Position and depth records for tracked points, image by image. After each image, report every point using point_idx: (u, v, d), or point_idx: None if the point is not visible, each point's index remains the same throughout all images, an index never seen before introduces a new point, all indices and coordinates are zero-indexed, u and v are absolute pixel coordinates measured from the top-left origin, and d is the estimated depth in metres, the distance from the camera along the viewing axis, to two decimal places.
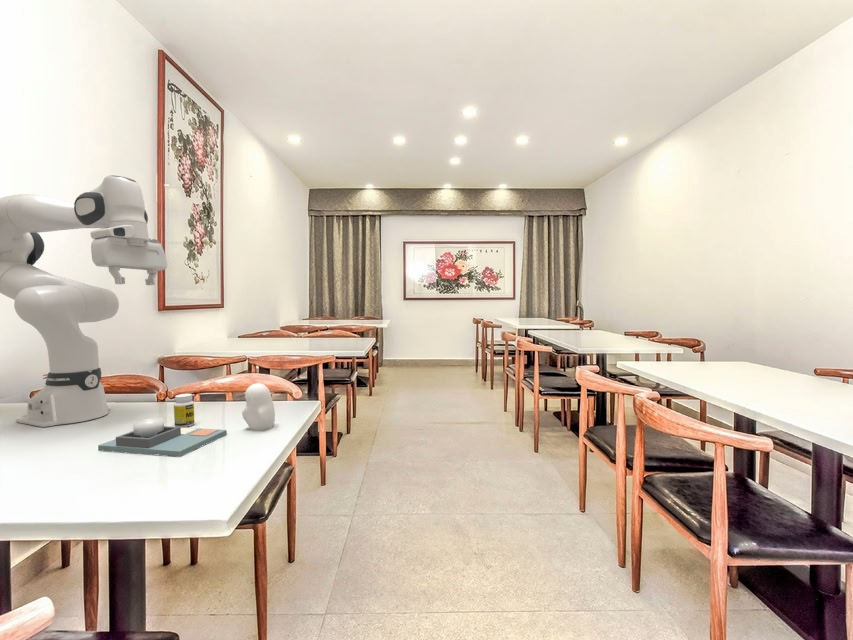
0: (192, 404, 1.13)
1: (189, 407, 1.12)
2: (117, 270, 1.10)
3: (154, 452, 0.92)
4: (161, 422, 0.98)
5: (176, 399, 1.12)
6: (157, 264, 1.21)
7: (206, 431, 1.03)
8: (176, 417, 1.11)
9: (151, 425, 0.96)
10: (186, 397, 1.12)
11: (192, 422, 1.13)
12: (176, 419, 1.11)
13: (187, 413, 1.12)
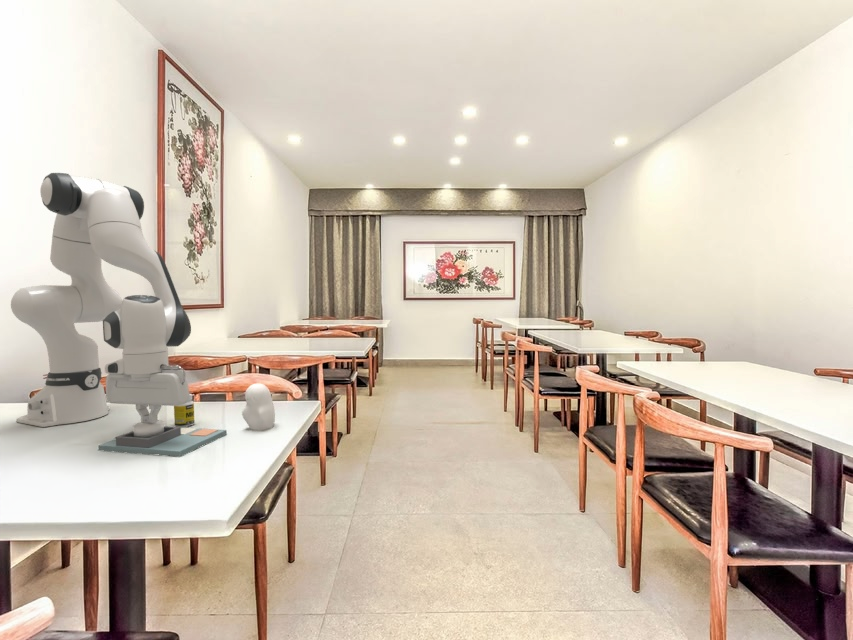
0: (192, 404, 1.13)
1: (189, 407, 1.12)
2: (138, 408, 0.97)
3: (154, 452, 0.92)
4: (161, 425, 0.98)
5: None
6: (164, 400, 0.94)
7: (206, 431, 1.03)
8: (176, 417, 1.11)
9: (151, 428, 0.96)
10: None
11: (192, 422, 1.13)
12: (176, 419, 1.11)
13: (187, 413, 1.12)
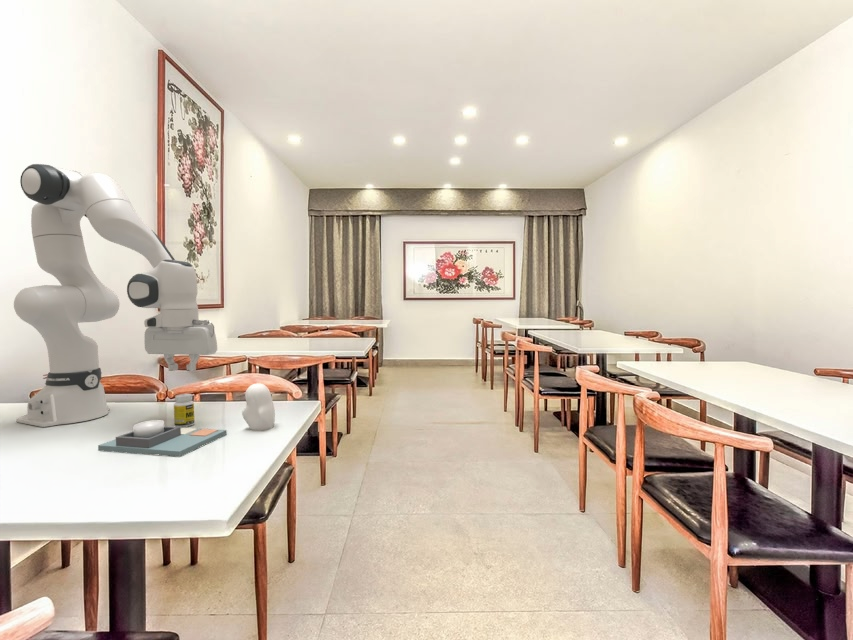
0: (192, 404, 1.13)
1: (189, 407, 1.12)
2: (165, 358, 1.12)
3: (154, 452, 0.92)
4: (161, 425, 0.98)
5: (176, 399, 1.12)
6: (196, 349, 1.09)
7: (206, 431, 1.03)
8: (176, 417, 1.11)
9: (151, 428, 0.96)
10: (186, 397, 1.12)
11: (192, 422, 1.13)
12: (176, 419, 1.11)
13: (187, 413, 1.12)
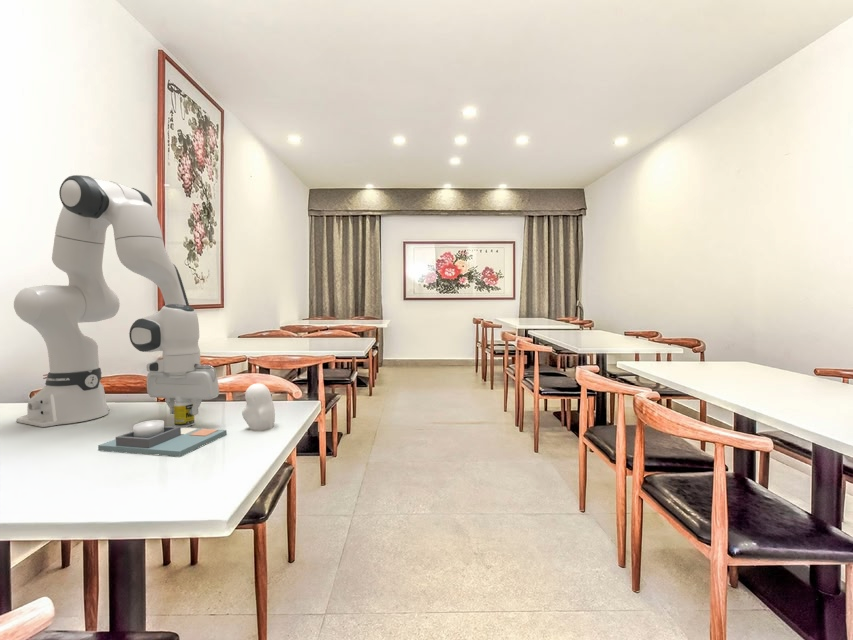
0: (192, 404, 1.13)
1: (189, 407, 1.12)
2: (167, 401, 1.13)
3: (154, 452, 0.92)
4: (161, 425, 0.98)
5: (176, 399, 1.12)
6: (198, 394, 1.10)
7: (206, 431, 1.03)
8: (176, 417, 1.11)
9: (151, 428, 0.96)
10: None
11: (192, 422, 1.13)
12: (176, 419, 1.11)
13: (187, 413, 1.12)
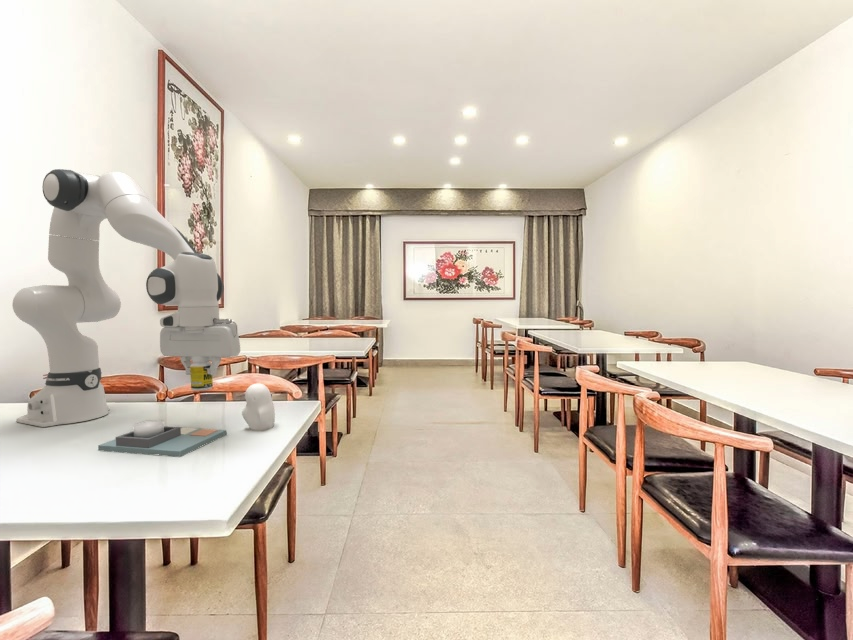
0: (210, 365, 1.02)
1: None
2: (182, 361, 1.02)
3: (154, 452, 0.92)
4: (161, 425, 0.98)
5: (193, 359, 1.00)
6: (217, 351, 0.99)
7: (206, 431, 1.03)
8: (193, 379, 1.00)
9: (151, 428, 0.96)
10: (204, 357, 1.01)
11: (210, 385, 1.02)
12: (193, 381, 1.00)
13: (205, 375, 1.01)
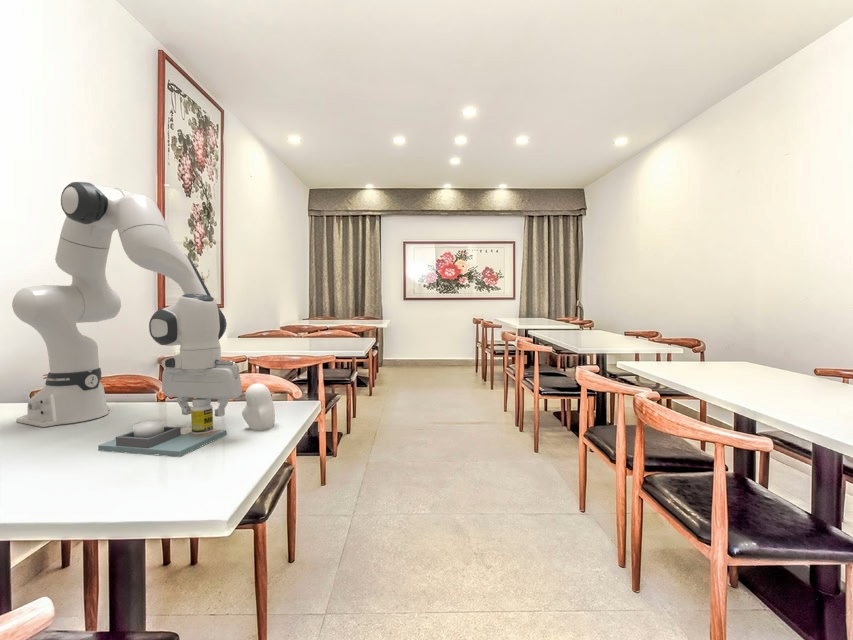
0: (211, 408, 1.03)
1: (208, 412, 1.02)
2: (179, 401, 1.03)
3: (154, 452, 0.92)
4: (161, 425, 0.98)
5: (193, 403, 1.01)
6: (219, 393, 0.99)
7: None
8: (193, 423, 1.01)
9: (151, 428, 0.96)
10: (204, 401, 1.01)
11: (211, 428, 1.03)
12: (193, 425, 1.01)
13: (205, 419, 1.01)
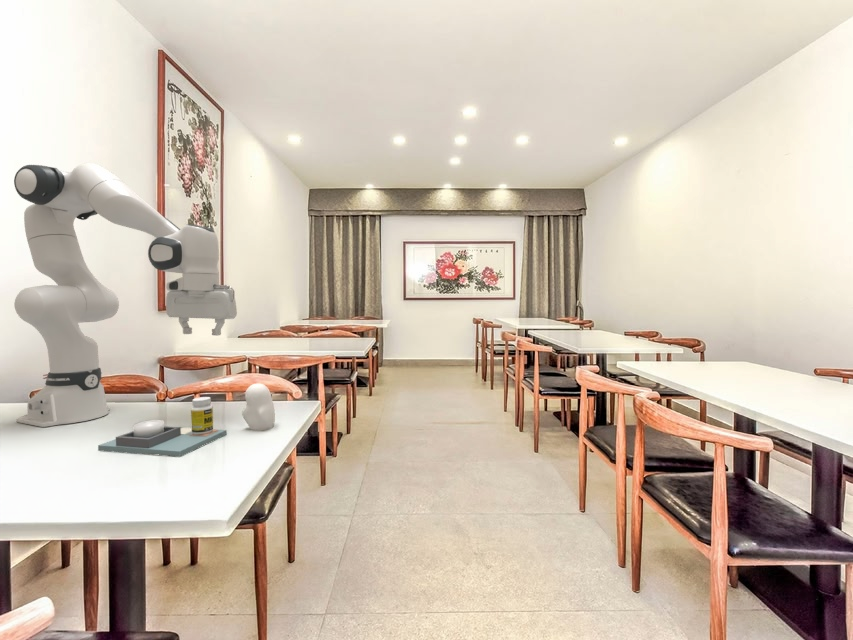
0: (211, 408, 1.03)
1: (208, 412, 1.02)
2: (180, 321, 1.15)
3: (154, 452, 0.92)
4: (161, 425, 0.98)
5: (193, 403, 1.01)
6: (216, 313, 1.11)
7: None
8: (193, 423, 1.01)
9: (151, 428, 0.96)
10: (204, 401, 1.01)
11: (211, 428, 1.03)
12: (193, 425, 1.01)
13: (205, 419, 1.01)
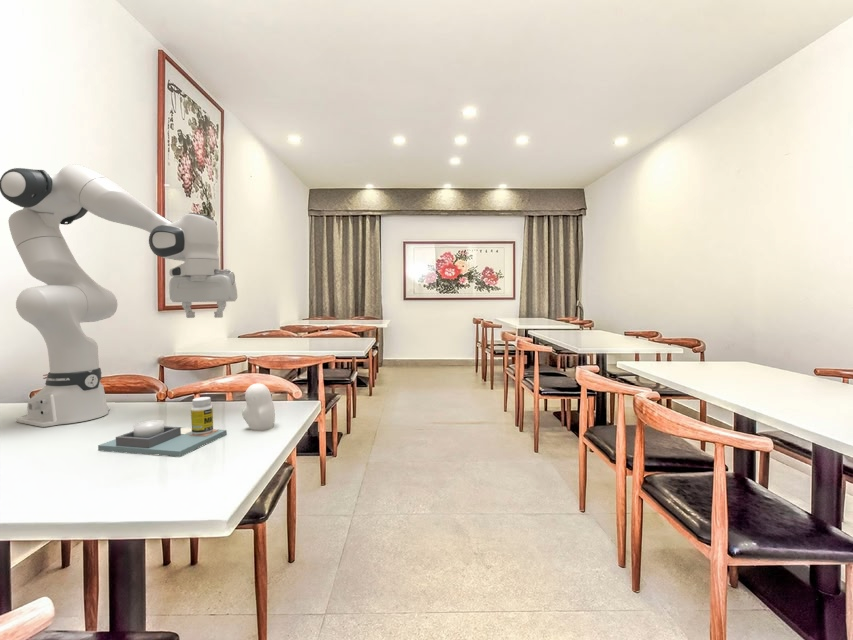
0: (211, 408, 1.03)
1: (208, 412, 1.02)
2: (183, 306, 1.21)
3: (154, 452, 0.92)
4: (161, 425, 0.98)
5: (193, 403, 1.01)
6: (218, 296, 1.17)
7: None
8: (193, 423, 1.01)
9: (151, 428, 0.96)
10: (204, 401, 1.01)
11: (211, 428, 1.03)
12: (193, 425, 1.01)
13: (205, 419, 1.01)
